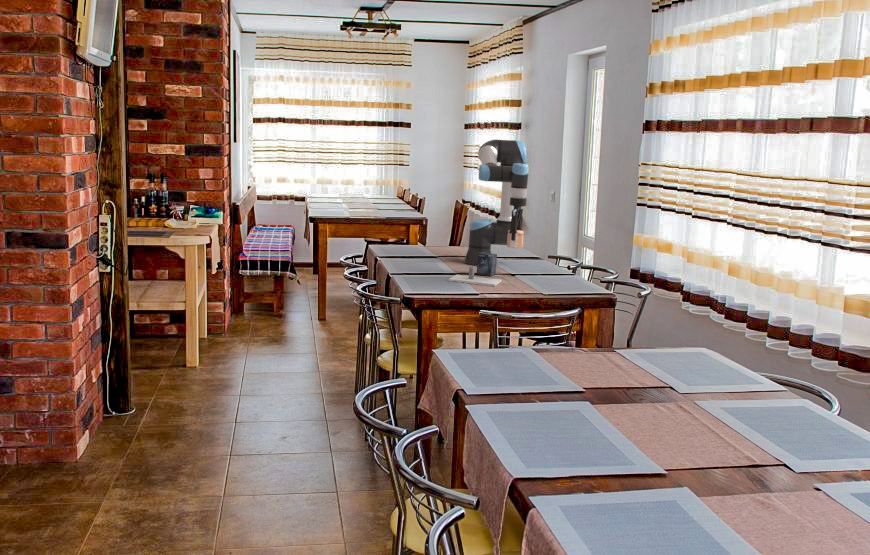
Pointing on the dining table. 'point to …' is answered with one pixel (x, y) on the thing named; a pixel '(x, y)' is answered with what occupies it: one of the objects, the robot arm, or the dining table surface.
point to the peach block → (519, 239)
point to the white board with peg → (475, 279)
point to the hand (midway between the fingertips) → (514, 246)
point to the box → (486, 264)
